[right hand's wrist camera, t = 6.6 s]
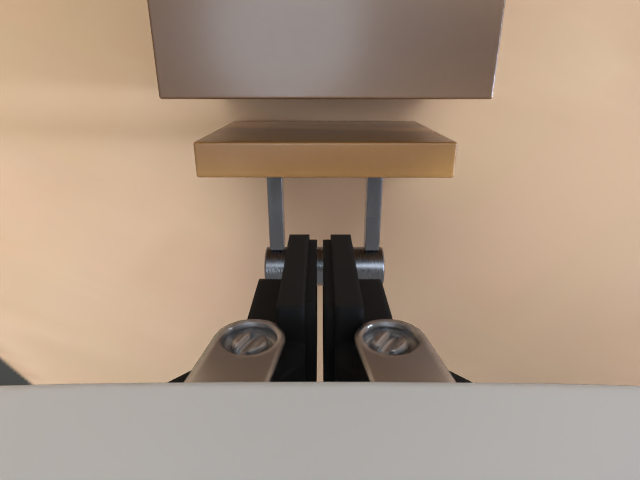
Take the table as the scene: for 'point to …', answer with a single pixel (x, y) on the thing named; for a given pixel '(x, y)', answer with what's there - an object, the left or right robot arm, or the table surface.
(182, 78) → the brown red-edged long box
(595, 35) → the table surface
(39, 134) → the table surface
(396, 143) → the drawer
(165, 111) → the table surface
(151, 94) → the table surface
